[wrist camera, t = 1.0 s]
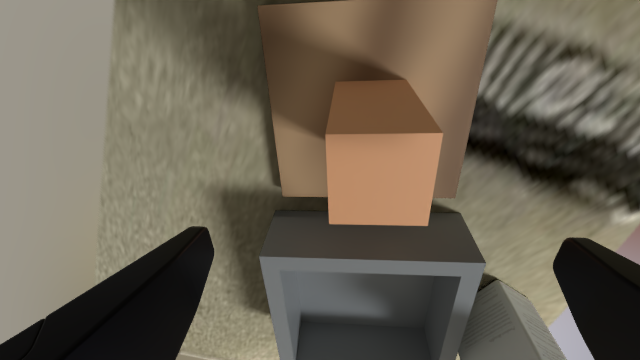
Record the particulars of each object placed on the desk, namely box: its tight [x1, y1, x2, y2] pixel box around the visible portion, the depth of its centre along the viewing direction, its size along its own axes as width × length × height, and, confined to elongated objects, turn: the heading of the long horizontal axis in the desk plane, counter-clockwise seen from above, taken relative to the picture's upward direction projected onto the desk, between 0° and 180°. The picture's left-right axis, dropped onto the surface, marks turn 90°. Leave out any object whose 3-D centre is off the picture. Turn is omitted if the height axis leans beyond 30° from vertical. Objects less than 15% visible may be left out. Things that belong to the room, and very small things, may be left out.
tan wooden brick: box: [325, 80, 443, 226], centre depth 15 cm, size 4×4×8 cm
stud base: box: [257, 0, 497, 198], centre depth 17 cm, size 12×12×6 cm
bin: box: [259, 211, 486, 360], centre depth 25 cm, size 14×14×5 cm
